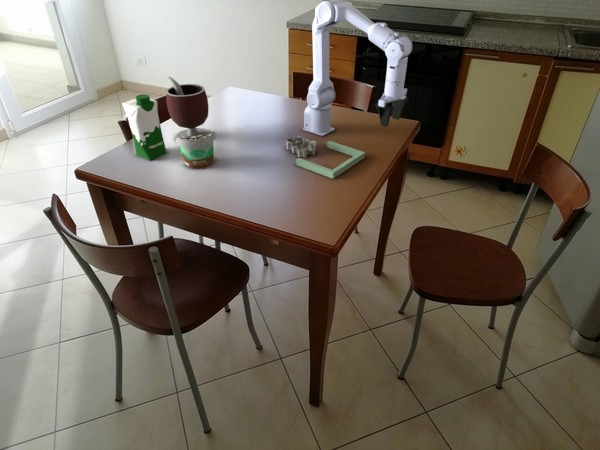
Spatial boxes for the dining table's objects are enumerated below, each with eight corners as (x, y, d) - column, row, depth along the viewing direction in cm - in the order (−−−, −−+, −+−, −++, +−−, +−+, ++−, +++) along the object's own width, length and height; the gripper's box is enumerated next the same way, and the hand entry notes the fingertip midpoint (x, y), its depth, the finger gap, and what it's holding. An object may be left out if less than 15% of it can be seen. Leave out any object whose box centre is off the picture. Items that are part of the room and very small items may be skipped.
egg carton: (318, 154, 142) (318, 142, 139) (299, 159, 139) (299, 148, 136) (301, 142, 149) (301, 131, 147) (283, 147, 146) (283, 136, 144)
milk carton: (149, 162, 138) (135, 102, 126) (132, 155, 142) (116, 96, 130) (170, 152, 143) (158, 94, 132) (153, 146, 148) (140, 88, 136)
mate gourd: (220, 135, 155) (213, 80, 143) (190, 148, 146) (180, 90, 135) (193, 125, 163) (184, 72, 151) (163, 136, 154) (151, 81, 143)
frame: (296, 165, 135) (296, 159, 134) (329, 146, 147) (329, 140, 145) (333, 178, 128) (333, 173, 127) (364, 157, 139) (365, 152, 138)
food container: (185, 174, 131) (179, 144, 125) (180, 166, 135) (174, 136, 130) (223, 165, 136) (219, 136, 130) (217, 157, 140) (213, 129, 134)
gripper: (395, 88, 123) (389, 132, 131) (417, 76, 132) (411, 118, 140) (374, 83, 126) (370, 126, 134) (397, 72, 136) (392, 113, 144)
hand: (390, 122), depth 137 cm, fingers open, 7 cm apart
